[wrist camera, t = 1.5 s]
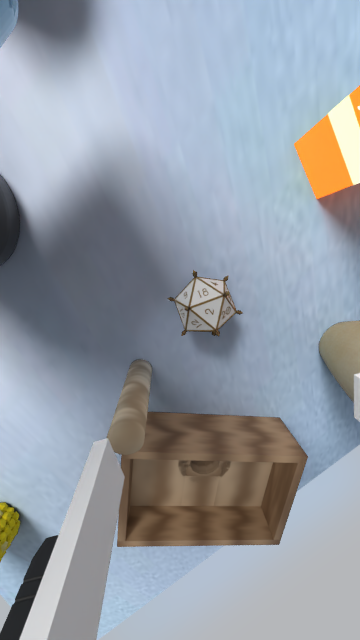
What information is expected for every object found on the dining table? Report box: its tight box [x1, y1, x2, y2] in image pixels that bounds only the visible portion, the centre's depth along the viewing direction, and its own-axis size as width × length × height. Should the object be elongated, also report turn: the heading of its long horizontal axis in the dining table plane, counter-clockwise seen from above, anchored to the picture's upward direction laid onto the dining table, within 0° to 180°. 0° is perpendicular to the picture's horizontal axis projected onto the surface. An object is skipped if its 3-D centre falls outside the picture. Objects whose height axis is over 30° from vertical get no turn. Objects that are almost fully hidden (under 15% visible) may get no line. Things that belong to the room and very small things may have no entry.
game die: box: [168, 270, 243, 336], centre depth 28 cm, size 9×8×10 cm
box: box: [117, 412, 308, 547], centre depth 36 cm, size 26×18×8 cm
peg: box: [107, 359, 152, 455], centre depth 28 cm, size 4×4×14 cm
